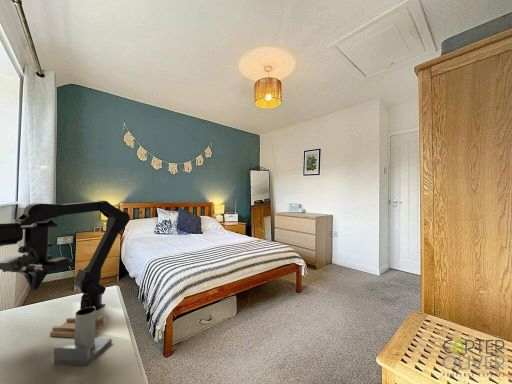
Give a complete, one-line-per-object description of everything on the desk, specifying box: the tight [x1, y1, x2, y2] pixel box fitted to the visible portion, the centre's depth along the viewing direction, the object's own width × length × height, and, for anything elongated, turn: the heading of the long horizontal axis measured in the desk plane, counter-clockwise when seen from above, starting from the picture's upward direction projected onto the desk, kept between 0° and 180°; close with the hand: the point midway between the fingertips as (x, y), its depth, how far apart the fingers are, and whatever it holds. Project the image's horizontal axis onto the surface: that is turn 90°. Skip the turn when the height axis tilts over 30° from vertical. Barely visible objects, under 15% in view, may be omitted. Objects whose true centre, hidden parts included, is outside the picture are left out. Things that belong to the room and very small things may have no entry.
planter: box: [73, 307, 97, 349], centre depth 61 cm, size 4×4×10 cm
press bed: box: [53, 337, 113, 367], centre depth 61 cm, size 9×9×4 cm
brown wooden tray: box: [49, 314, 105, 338], centre depth 71 cm, size 7×12×3 cm, turn 87°
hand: (34, 290), depth 70 cm, fingers closed
